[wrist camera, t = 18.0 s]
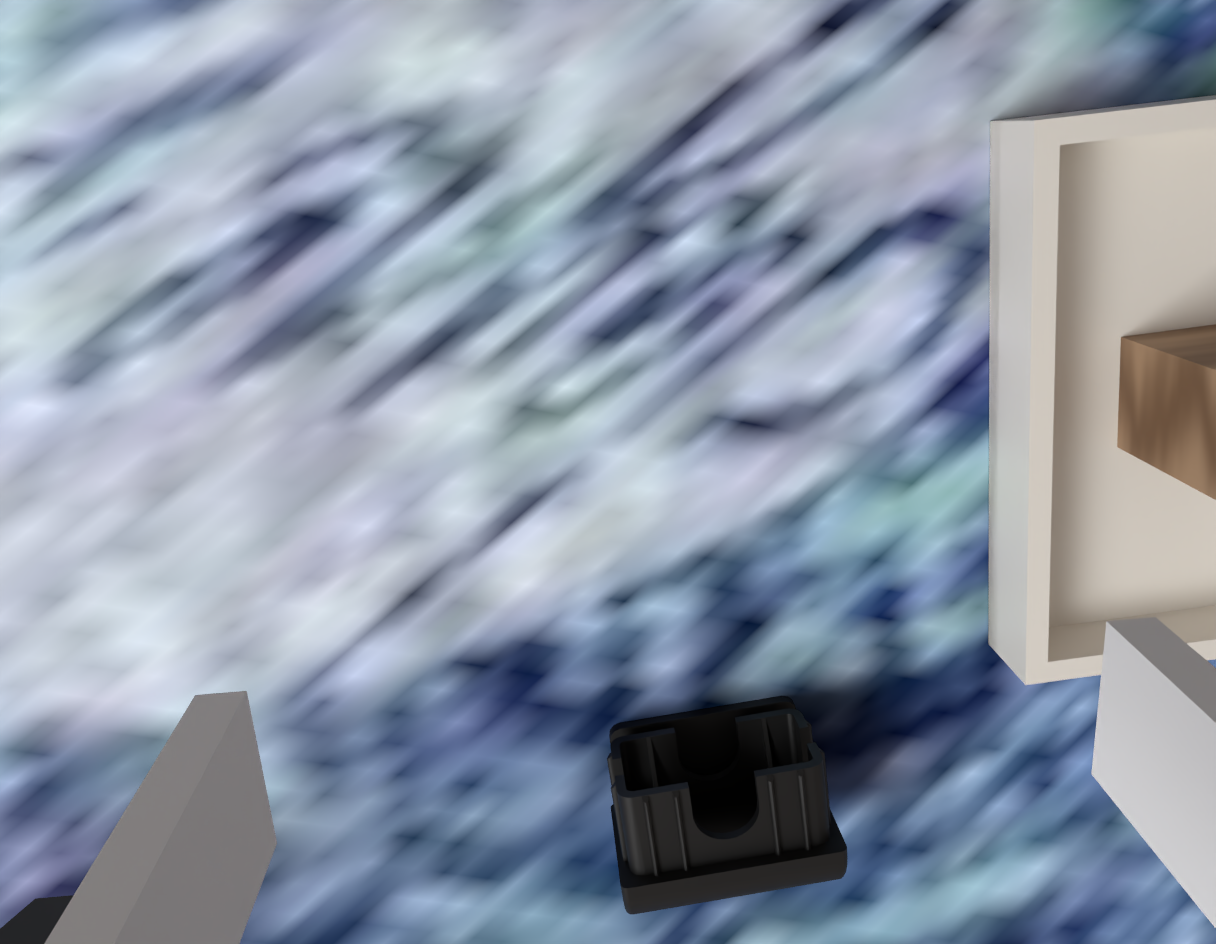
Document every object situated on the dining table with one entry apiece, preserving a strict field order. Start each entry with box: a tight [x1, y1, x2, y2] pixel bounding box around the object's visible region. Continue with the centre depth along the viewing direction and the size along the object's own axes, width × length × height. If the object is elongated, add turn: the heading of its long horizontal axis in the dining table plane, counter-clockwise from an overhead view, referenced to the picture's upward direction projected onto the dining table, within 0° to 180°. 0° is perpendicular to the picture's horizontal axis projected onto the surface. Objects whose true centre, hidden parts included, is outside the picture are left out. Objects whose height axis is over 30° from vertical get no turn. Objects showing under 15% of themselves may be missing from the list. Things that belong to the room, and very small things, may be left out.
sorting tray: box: [989, 95, 1216, 685], centre depth 46 cm, size 24×16×4 cm, turn 6°
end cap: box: [607, 696, 847, 914], centre depth 49 cm, size 10×7×7 cm
